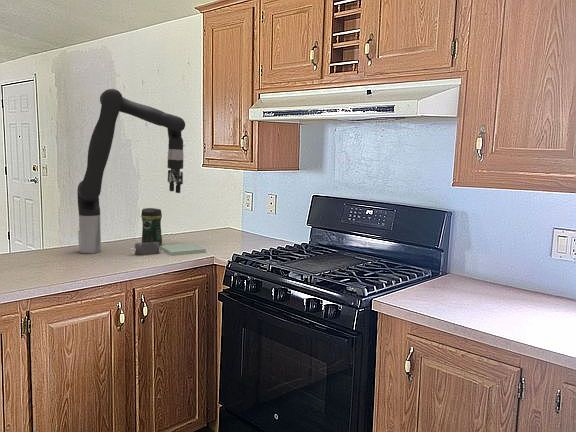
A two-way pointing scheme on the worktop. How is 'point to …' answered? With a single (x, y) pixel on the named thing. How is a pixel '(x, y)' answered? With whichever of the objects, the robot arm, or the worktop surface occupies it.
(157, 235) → the coffee jar
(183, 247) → the cutting board
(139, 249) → the connector
